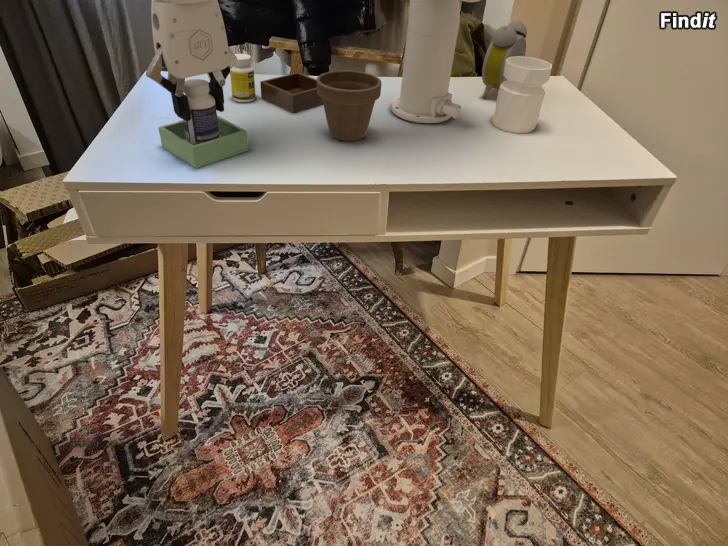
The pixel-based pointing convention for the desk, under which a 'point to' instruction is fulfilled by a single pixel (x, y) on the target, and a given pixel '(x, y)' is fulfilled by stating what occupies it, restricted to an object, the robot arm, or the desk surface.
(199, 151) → the green tray
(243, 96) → the supplement bottle
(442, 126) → the desk surface
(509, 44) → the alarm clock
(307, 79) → the walnut tray
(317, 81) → the flower pot
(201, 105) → the pill bottle
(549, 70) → the vase
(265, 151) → the desk surface
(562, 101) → the desk surface
